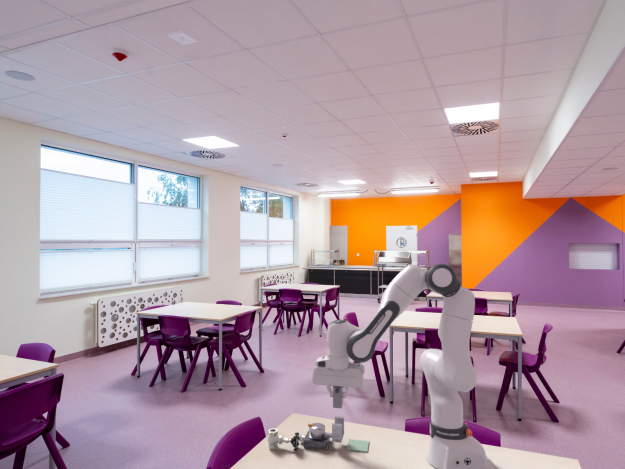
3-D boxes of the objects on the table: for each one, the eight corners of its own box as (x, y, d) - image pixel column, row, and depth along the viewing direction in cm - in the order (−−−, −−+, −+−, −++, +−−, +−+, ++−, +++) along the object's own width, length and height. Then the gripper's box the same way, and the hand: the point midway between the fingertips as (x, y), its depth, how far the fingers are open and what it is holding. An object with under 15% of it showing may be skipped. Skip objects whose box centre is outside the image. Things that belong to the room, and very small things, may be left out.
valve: (265, 451, 151) (295, 454, 148) (265, 433, 151) (295, 437, 148) (270, 442, 157) (299, 445, 154) (270, 426, 157) (299, 429, 155)
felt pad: (369, 442, 157) (369, 441, 157) (367, 452, 149) (367, 451, 149) (349, 440, 159) (349, 439, 159) (346, 450, 151) (346, 449, 151)
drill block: (330, 440, 159) (330, 432, 159) (326, 450, 151) (326, 442, 151) (302, 437, 161) (302, 430, 161) (297, 447, 153) (297, 439, 153)
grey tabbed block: (343, 403, 157) (343, 383, 157) (341, 410, 151) (341, 389, 151) (335, 402, 158) (335, 382, 158) (332, 409, 151) (332, 388, 152)
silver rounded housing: (344, 433, 157) (344, 417, 157) (341, 443, 150) (341, 425, 150) (310, 430, 160) (310, 413, 160) (306, 439, 153) (305, 422, 153)
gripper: (365, 361, 155) (365, 396, 155) (314, 357, 160) (314, 391, 159) (363, 365, 149) (363, 402, 149) (311, 362, 154) (311, 397, 153)
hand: (338, 397), depth 154 cm, fingers closed on grey tabbed block, 3 cm apart
